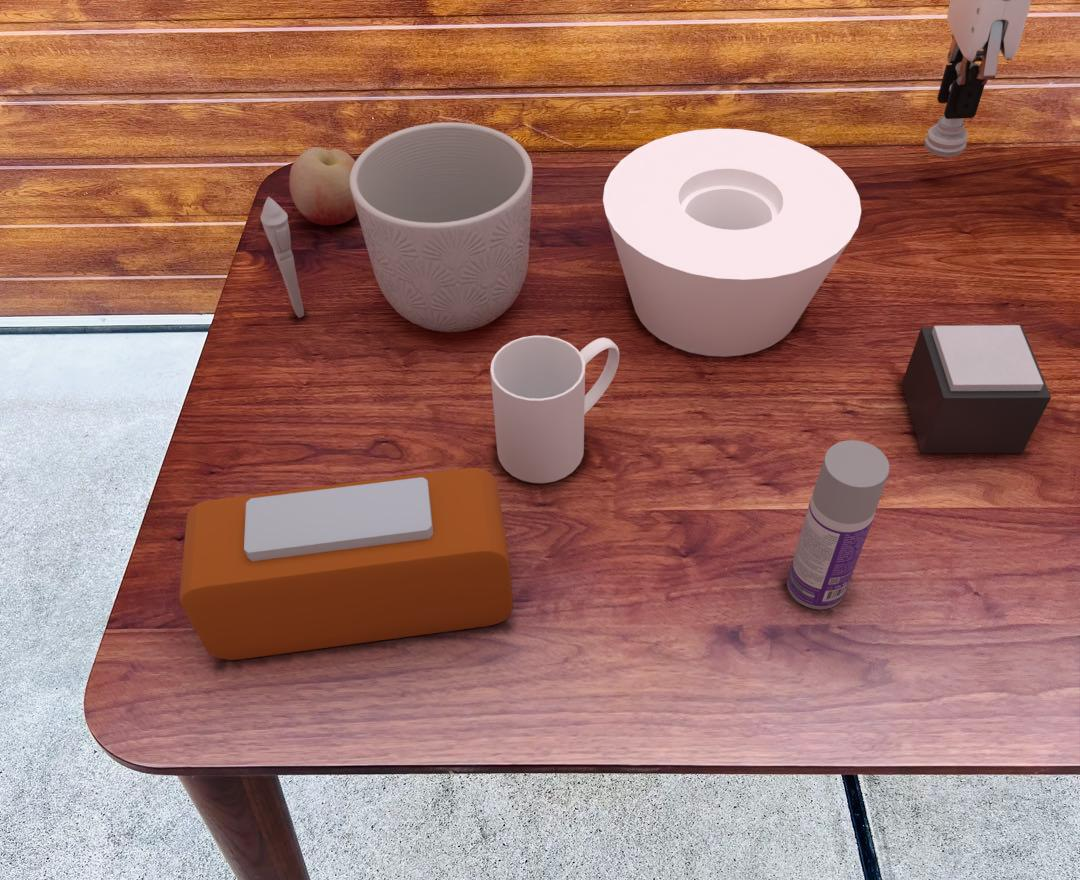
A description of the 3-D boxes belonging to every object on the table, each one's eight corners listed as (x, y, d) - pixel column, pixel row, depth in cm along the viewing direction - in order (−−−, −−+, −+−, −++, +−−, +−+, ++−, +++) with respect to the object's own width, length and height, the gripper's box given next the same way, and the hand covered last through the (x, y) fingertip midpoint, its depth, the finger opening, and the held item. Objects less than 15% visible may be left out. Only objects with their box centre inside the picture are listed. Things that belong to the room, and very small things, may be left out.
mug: (528, 498, 88) (524, 414, 80) (481, 444, 93) (472, 358, 84) (638, 440, 92) (645, 354, 84) (588, 390, 96) (590, 304, 88)
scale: (999, 383, 96) (1029, 319, 90) (1025, 453, 90) (1059, 390, 84) (901, 383, 96) (923, 319, 90) (920, 453, 91) (946, 390, 84)
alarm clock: (502, 542, 86) (494, 452, 77) (515, 624, 81) (507, 537, 72) (217, 579, 84) (174, 491, 75) (211, 665, 79) (165, 581, 70)
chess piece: (970, 142, 113) (997, 53, 105) (957, 161, 111) (984, 72, 103) (931, 132, 114) (956, 44, 106) (918, 151, 112) (942, 62, 104)
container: (842, 564, 83) (887, 440, 71) (847, 611, 80) (895, 490, 69) (785, 561, 84) (820, 436, 72) (788, 607, 81) (825, 486, 69)
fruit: (364, 238, 112) (351, 174, 106) (292, 238, 112) (276, 174, 106) (373, 196, 117) (361, 132, 110) (304, 196, 117) (289, 133, 111)
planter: (564, 325, 102) (563, 193, 90) (409, 377, 98) (386, 247, 86) (497, 234, 112) (488, 104, 100) (352, 279, 108) (324, 149, 96)
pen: (306, 304, 105) (275, 185, 94) (317, 318, 104) (286, 199, 93) (284, 313, 105) (250, 194, 93) (294, 327, 103) (261, 208, 92)
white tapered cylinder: (880, 340, 100) (913, 238, 90) (662, 408, 95) (672, 308, 85) (761, 208, 113) (778, 108, 104) (564, 262, 108) (563, 161, 99)
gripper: (1076, -42, 89) (1010, 149, 104) (1026, -113, 99) (972, 70, 114) (990, -38, 90) (936, 151, 104) (949, -109, 100) (904, 73, 114)
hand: (955, 107), depth 109 cm, fingers closed on chess piece, 2 cm apart
